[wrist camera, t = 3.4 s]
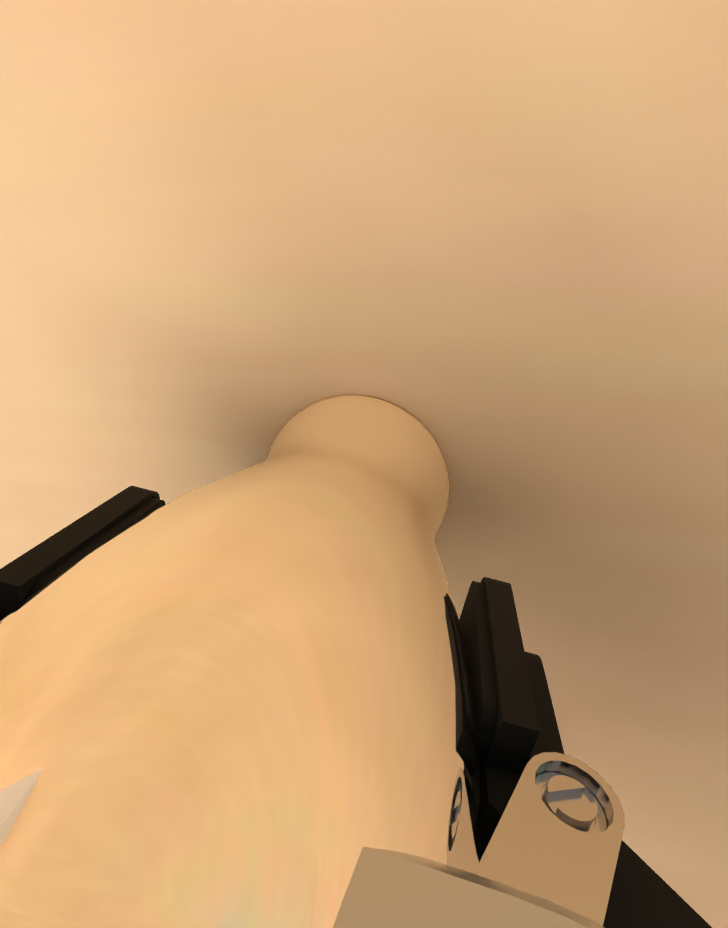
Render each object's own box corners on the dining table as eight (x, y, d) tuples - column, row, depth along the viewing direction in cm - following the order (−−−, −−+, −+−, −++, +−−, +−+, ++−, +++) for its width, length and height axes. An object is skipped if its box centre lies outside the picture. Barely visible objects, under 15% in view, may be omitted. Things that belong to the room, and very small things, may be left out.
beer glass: (269, 575, 19) (-201, 1336, 5) (241, 385, 17) (-657, 829, 3) (464, 578, 18) (510, 1556, 4) (461, 374, 16) (530, 995, 2)
